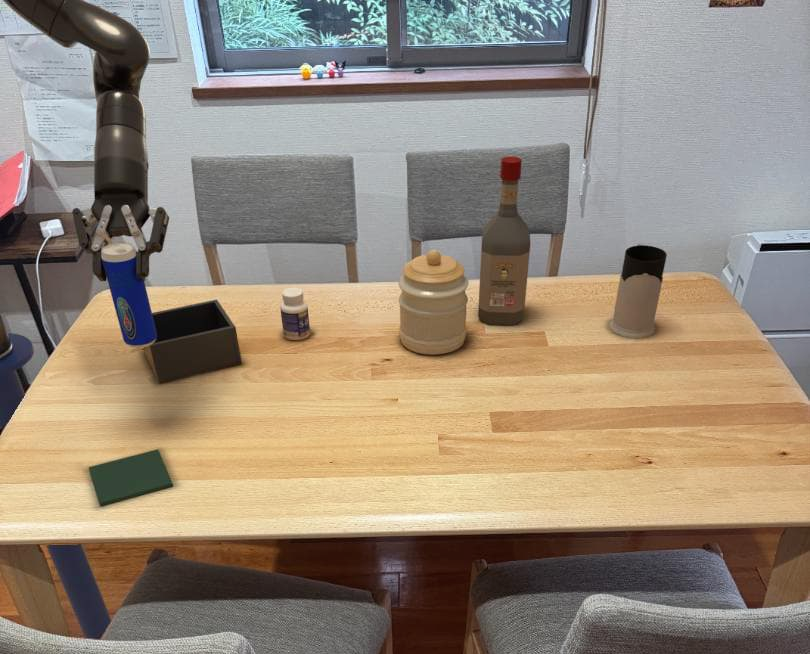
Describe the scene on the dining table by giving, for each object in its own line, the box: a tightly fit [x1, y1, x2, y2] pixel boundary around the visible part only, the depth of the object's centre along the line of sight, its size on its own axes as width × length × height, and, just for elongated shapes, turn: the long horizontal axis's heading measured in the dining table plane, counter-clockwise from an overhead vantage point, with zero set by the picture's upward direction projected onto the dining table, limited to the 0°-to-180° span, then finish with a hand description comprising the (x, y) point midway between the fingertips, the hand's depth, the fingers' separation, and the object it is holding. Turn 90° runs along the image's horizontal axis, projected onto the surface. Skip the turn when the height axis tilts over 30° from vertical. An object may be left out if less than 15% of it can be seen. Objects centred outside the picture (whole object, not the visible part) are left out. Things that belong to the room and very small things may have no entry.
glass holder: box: [609, 242, 668, 339], centre depth 157 cm, size 9×14×15 cm, turn 173°
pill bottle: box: [279, 287, 311, 341], centre depth 157 cm, size 5×5×9 cm
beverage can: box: [101, 241, 157, 349], centre depth 123 cm, size 5×5×15 cm
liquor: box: [477, 156, 531, 326], centre depth 155 cm, size 9×9×30 cm
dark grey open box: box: [143, 299, 243, 384], centre depth 151 cm, size 16×13×8 cm
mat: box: [88, 448, 174, 507], centre depth 126 cm, size 11×10×1 cm
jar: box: [397, 249, 469, 355], centre depth 152 cm, size 13×13×18 cm
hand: (121, 278), depth 119 cm, fingers closed on beverage can, 5 cm apart
